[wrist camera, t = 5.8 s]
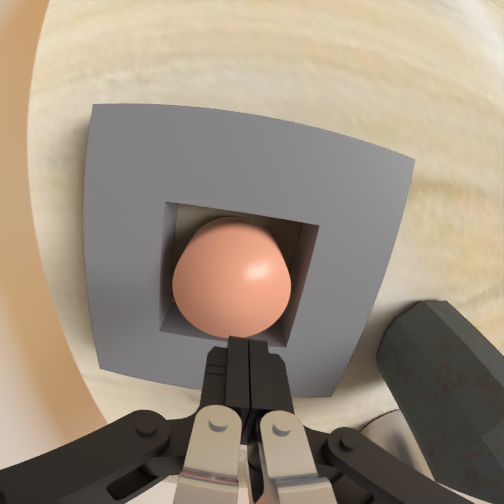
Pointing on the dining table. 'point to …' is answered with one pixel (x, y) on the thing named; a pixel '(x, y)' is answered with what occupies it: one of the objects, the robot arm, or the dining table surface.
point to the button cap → (231, 278)
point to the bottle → (449, 396)
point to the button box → (240, 200)
